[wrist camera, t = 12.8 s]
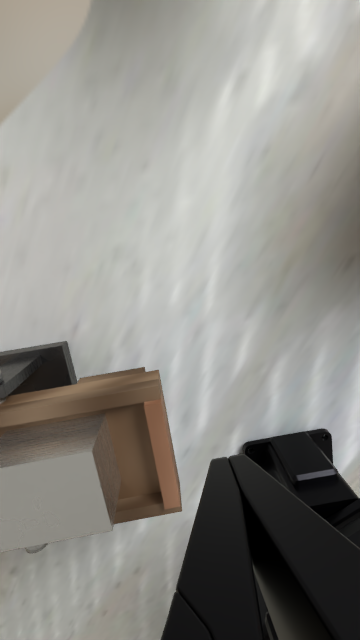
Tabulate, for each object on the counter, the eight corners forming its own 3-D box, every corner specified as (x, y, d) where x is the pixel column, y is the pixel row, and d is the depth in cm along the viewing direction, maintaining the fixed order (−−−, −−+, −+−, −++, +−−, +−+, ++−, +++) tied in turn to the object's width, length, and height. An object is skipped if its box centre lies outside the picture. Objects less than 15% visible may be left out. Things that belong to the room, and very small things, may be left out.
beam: (157, 349, 18) (156, 381, 14) (178, 461, 20) (183, 524, 15) (-124, 397, 18) (-227, 448, 13) (-78, 507, 19) (-153, 588, 15)
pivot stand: (66, 338, 20) (28, 370, 14) (99, 471, 22) (78, 544, 16) (-10, 350, 20) (-78, 388, 14) (32, 483, 22) (-12, 561, 16)
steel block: (104, 413, 15) (91, 451, 12) (121, 480, 16) (112, 530, 13) (5, 431, 15) (-32, 474, 12) (27, 497, 16) (-3, 552, 13)
